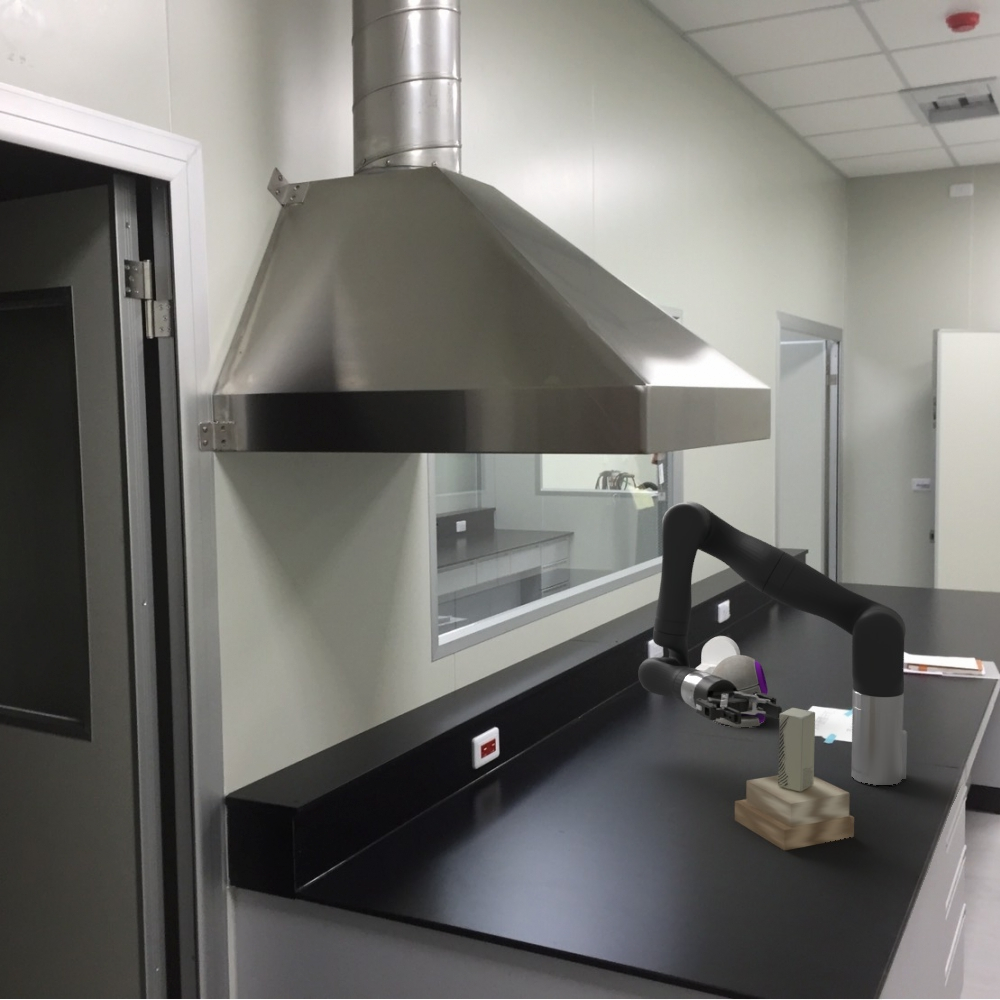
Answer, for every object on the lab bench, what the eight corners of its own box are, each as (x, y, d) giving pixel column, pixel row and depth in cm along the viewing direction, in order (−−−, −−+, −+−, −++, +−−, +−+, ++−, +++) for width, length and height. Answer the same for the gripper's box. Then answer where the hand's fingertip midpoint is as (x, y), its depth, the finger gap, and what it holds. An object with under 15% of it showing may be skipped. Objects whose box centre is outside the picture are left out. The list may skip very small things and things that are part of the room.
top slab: (802, 792, 188) (802, 770, 188) (849, 816, 177) (849, 792, 177) (746, 803, 184) (746, 780, 183) (790, 827, 173) (791, 803, 172)
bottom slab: (800, 811, 190) (801, 790, 190) (853, 840, 177) (854, 817, 177) (734, 823, 185) (734, 801, 185) (784, 853, 172) (784, 829, 172)
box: (790, 779, 183) (792, 706, 183) (814, 785, 181) (816, 711, 180) (776, 787, 180) (778, 712, 179) (800, 793, 177) (802, 717, 176)
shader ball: (766, 729, 237) (767, 663, 236) (708, 725, 241) (708, 660, 239) (768, 713, 250) (768, 650, 248) (712, 710, 253) (713, 648, 252)
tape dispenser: (746, 671, 291) (746, 632, 291) (730, 686, 275) (730, 645, 274) (711, 667, 296) (711, 629, 295) (694, 682, 280) (694, 642, 279)
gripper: (677, 678, 200) (726, 699, 185) (740, 670, 206) (793, 690, 191) (676, 717, 201) (726, 741, 186) (739, 708, 206) (792, 731, 191)
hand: (760, 715), depth 188 cm, fingers open, 8 cm apart
